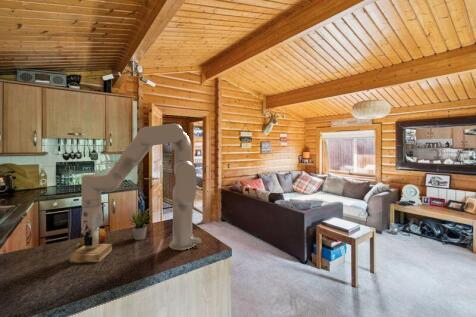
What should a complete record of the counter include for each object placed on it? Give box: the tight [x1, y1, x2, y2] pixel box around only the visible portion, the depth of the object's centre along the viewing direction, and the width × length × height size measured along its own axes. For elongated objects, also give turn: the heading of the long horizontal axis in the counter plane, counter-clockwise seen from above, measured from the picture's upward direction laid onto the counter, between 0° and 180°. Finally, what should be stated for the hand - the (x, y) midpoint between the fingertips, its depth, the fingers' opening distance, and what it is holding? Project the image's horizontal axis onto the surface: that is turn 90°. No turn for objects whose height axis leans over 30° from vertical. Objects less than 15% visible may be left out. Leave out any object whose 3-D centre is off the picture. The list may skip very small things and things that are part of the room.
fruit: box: [99, 228, 107, 244], centre depth 125 cm, size 8×8×8 cm
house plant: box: [128, 208, 155, 241], centre depth 132 cm, size 14×14×16 cm
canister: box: [85, 227, 99, 248], centre depth 109 cm, size 6×6×8 cm
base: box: [69, 243, 113, 263], centre depth 110 cm, size 12×12×3 cm
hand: (92, 242), depth 109 cm, fingers closed on canister, 5 cm apart
